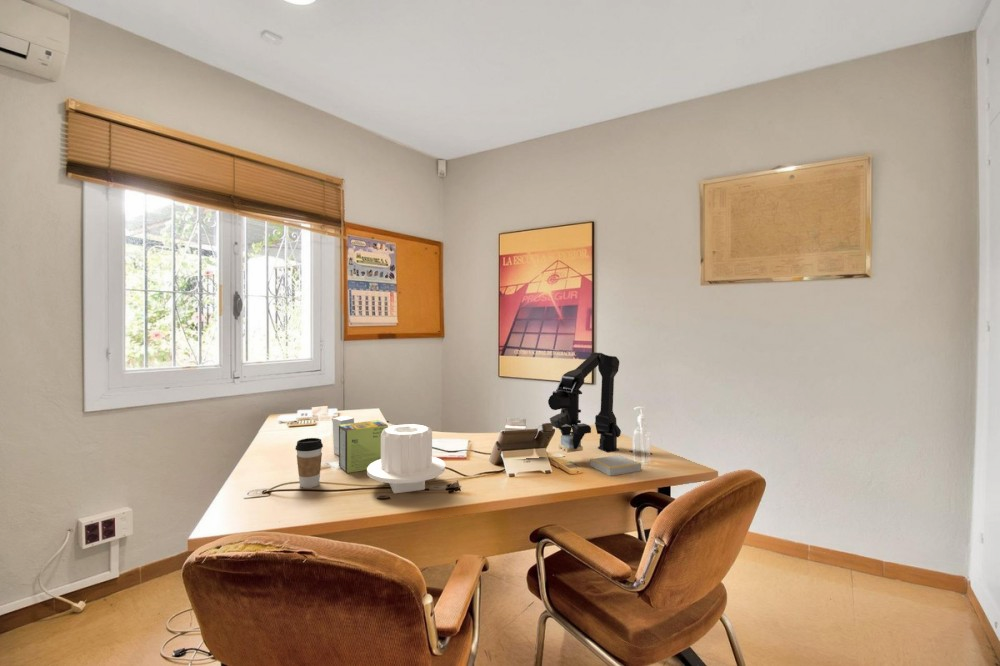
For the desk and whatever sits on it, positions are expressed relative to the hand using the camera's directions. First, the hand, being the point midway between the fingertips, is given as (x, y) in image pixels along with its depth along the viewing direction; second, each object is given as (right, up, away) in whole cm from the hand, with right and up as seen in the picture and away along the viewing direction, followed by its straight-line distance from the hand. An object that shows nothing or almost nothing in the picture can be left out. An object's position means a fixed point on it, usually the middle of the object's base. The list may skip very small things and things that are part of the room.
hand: (570, 446), depth 180 cm
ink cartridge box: (-21, -6, +8) cm, 23 cm away
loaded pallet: (0, -1, 0) cm, 1 cm away
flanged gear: (-58, -7, -27) cm, 64 cm away
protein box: (-78, -6, -7) cm, 79 cm away
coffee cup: (-90, -6, -26) cm, 94 cm away
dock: (+15, -6, -7) cm, 18 cm away
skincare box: (-90, -5, +8) cm, 91 cm away
